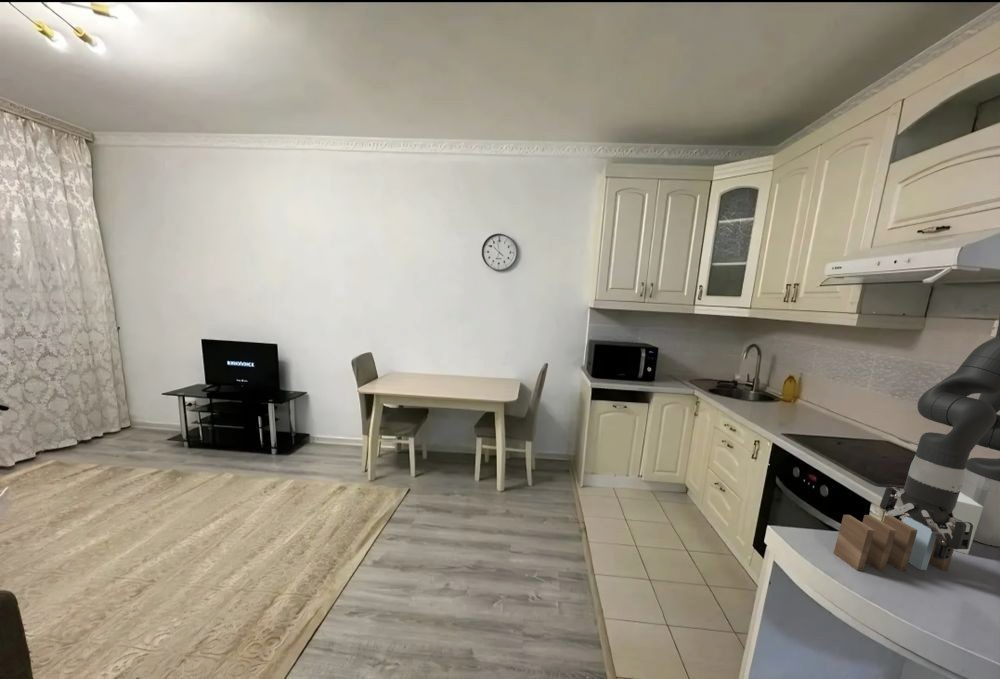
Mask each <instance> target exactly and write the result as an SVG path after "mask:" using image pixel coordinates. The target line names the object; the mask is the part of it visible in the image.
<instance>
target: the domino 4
mask: <svg viewBox="0 0 1000 679" xmlns="http://www.w3.org/2000/svg"><path fill="white" fill-rule="evenodd" d="M902 522H904V523H905V524H907V525H909V526H911V527H913V528H915V529H916V530H918V531H917V535H916V538H915V541H914V545H913V548H912V552H911V555H910V558H909V562H908V564H910V565H912V566H914V567H915V568H916V569H918V570H919V571H927V569H928V566H929V564H930V563H929V560H930V557H931V554H932V550H933V547H934V544H935V541H936V535H935V533H933V532H932V531H931V529H930V527H929V525H925V524H923V523H922V522H920V521H919V520H917V519H914V518H912V517H910V515H905V516H903V521H902Z"/></svg>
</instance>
